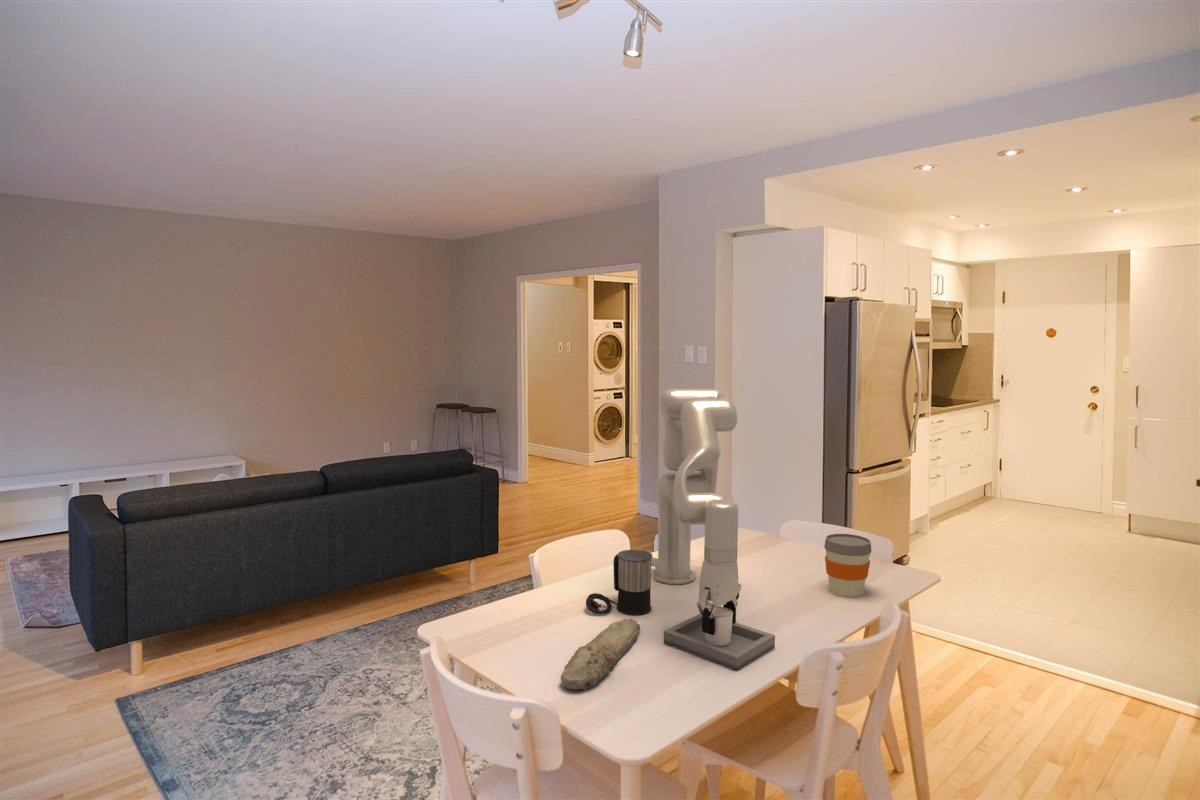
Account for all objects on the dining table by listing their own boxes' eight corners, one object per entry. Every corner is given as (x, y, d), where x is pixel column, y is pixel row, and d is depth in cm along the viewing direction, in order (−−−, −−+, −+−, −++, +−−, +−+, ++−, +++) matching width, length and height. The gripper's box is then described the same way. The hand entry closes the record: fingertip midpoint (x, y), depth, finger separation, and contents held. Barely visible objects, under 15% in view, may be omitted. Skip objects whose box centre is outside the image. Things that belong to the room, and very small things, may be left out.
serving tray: (663, 643, 166) (663, 631, 166) (703, 623, 178) (703, 612, 178) (736, 671, 153) (737, 657, 152) (774, 647, 164) (775, 635, 164)
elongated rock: (650, 637, 173) (612, 633, 177) (650, 616, 173) (612, 612, 177) (594, 696, 141) (549, 689, 145) (594, 670, 141) (549, 664, 145)
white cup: (733, 647, 161) (732, 617, 161) (703, 646, 163) (702, 616, 162) (733, 635, 168) (732, 606, 168) (704, 633, 169) (703, 605, 169)
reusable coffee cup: (855, 603, 192) (857, 548, 191) (814, 590, 202) (815, 538, 200) (878, 592, 201) (880, 540, 199) (837, 580, 210) (839, 530, 209)
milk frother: (659, 609, 187) (659, 554, 186) (618, 626, 176) (619, 568, 175) (619, 595, 197) (619, 543, 196) (578, 611, 186) (578, 555, 185)
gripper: (727, 542, 172) (726, 612, 174) (684, 558, 160) (683, 634, 161) (754, 549, 167) (753, 621, 169) (712, 566, 155) (711, 644, 156)
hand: (719, 627), depth 165 cm, fingers open, 8 cm apart
